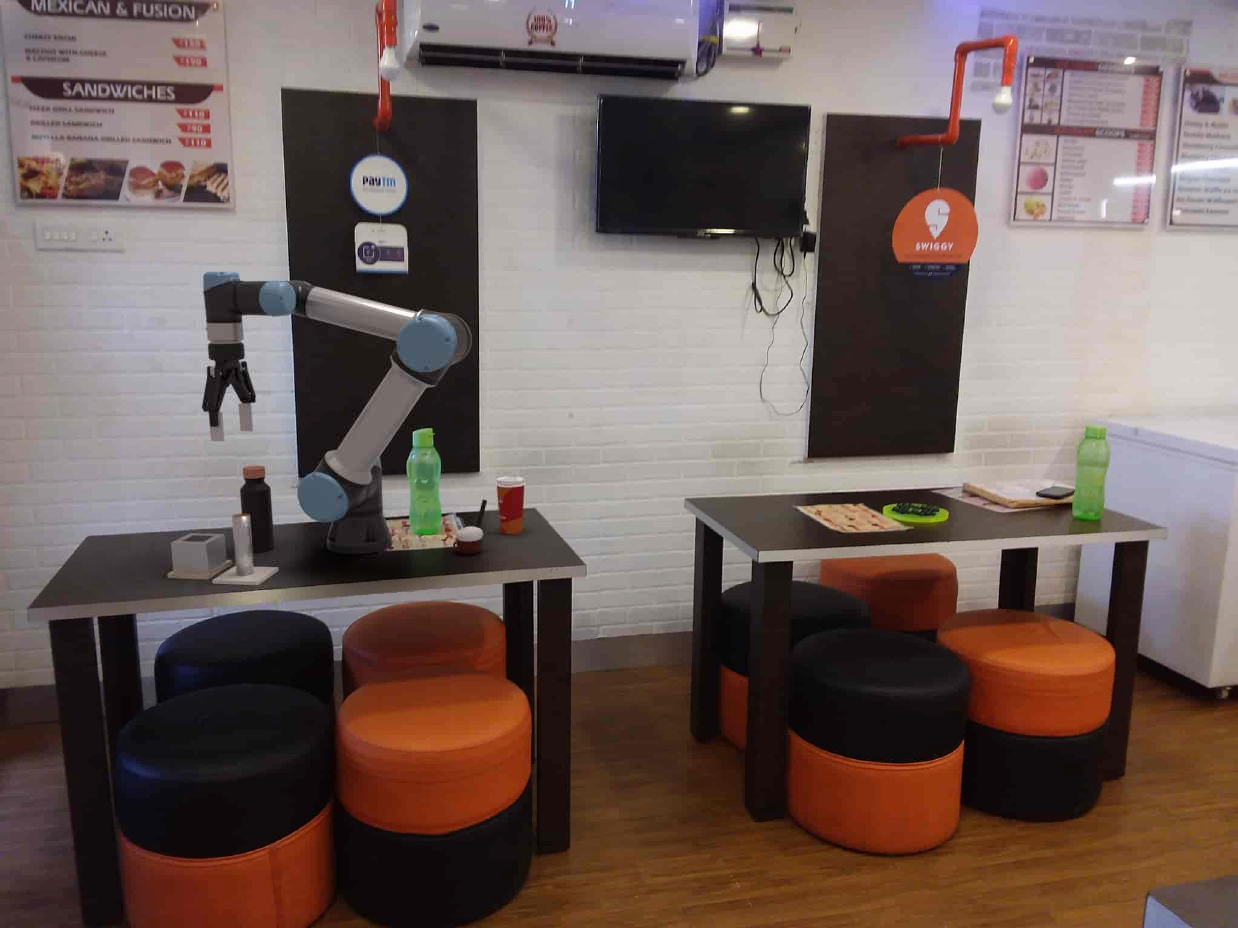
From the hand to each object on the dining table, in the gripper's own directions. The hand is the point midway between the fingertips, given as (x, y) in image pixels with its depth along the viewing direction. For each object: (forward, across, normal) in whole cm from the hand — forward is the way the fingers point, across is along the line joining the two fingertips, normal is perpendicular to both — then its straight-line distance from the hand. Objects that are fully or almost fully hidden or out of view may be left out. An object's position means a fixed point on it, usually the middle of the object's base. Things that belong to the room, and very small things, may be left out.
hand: (232, 436), depth 214 cm
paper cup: (+29, -29, +58) cm, 71 cm away
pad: (+29, +14, +8) cm, 33 cm away
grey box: (+29, +9, -4) cm, 30 cm away
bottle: (+29, -7, +1) cm, 30 cm away
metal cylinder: (+28, +14, +8) cm, 32 cm away
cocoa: (+29, -10, +52) cm, 60 cm away
